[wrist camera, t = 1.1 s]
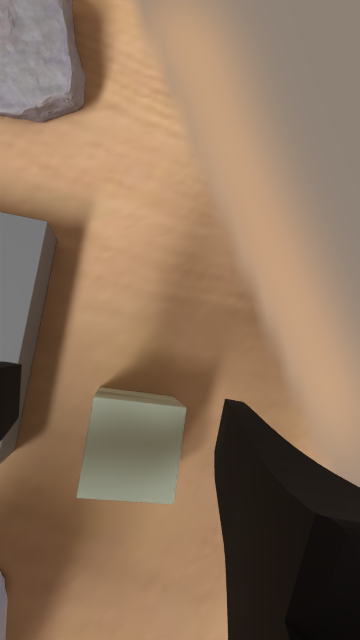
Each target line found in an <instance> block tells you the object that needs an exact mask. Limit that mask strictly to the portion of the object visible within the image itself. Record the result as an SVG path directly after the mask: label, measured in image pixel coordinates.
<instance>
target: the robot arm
mask: <svg viewBox="0 0 360 640" xmlns="http://www.w3.org/2000/svg"><path fill="white" fill-rule="evenodd" d="M21 370H22V364H17V363H11V362H5V361H3V362H0V441H1V440H2V439H3V438H4V436H5V435H6V434H7V433H8V431H9V430H10V429H11V427H12V426H13V425H14V423H15V422H16V421H17V419H18V418H19V406H20V388H21ZM214 468H215V484H216V492H217V499H218V506H219V513H220V521H221V528H222V535H223V542H224V552H225V565H226V588H227V616H228V640H360V487H357V486H356V485H354V484H352V483H350V482H349V481H347V480H345V479H343V478H342V477H340V476H338V475H336V474H334V473H333V472H331V471H329V470H328V469H326V468H324V467H323V466H321V465H320V464H318V463H317V462H315V461H314V460H312V459H311V458H309V457H308V456H306V455H305V454H304V453H302V452H301V451H299V450H298V449H297V448H295V447H294V446H293V445H292V444H290V443H289V442H288V441H287V440H285V439H284V438H283V437H282V436H281V435H279V434H278V433H277V432H276V431H275V430H274V429H272V428H271V427H270V426H269V425H268V424H267V423H266V422H265V421H264V420H263V419H262V418H260V417H259V416H258V415H257V414H256V413H255V412H254V411H253V410H252V409H251V408H250V407H249V406H248V405H246V404H245V403H244V402H241V401H235V400H229V399H225V402H224V407H223V411H222V416H221V421H220V426H219V431H218V436H217V441H216V446H215V451H214ZM4 586H5V578H4V577H3V576H2V575H1V571H0V640H6V622H7V603H8V598H7V594H6V590H5V587H4Z"/></svg>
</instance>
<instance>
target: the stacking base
mask: <svg viewBox="0 0 360 640" xmlns="http://www.w3.org/2000/svg"><path fill="white" fill-rule="evenodd" d="M56 242H57V238H56V237H55V235H54V233H53V231H52V229H51V228H50V226H49V224H48V222H47V221H42V220H37V219H32V218H27V217H22V216H17V215H12V214H7V213H2V212H0V362H3V361H5V362H11V363H17V364H22V370H21V388H20V406H19V418H18V419H17V421H16V422H15V423H14V425H13V426H12V427H11V429H10V430H9V431H8V433H7V434H6V435H5V436H4V438H3V439H2V440H1V441H0V463H1V462H3V461H4V460H5V459H6V458H7V457H8V456H9V455H10V454H11V453H12V452H13V451H15V447H16V442H17V437H18V432H19V427H20V422H21V417H22V412H23V407H24V402H25V397H26V392H27V387H28V382H29V377H30V372H31V367H32V362H33V357H34V352H35V347H36V342H37V337H38V332H39V327H40V322H41V317H42V312H43V307H44V302H45V297H46V292H47V287H48V282H49V277H50V272H51V267H52V262H53V257H54V252H55V247H56Z"/></svg>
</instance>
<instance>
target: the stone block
mask: <svg viewBox="0 0 360 640" xmlns="http://www.w3.org/2000/svg"><path fill="white" fill-rule="evenodd" d="M72 5H73V1H72V0H0V116H7V117H11V118H17V119H26V120H31V121H35V122H46V121H48V120H50V119H53V118H57V117H61V116H63V115H66V114H69V113H72V112H74V111H76V110H78V109H80V108H81V107H83V106H84V101H85V97H84V93H85V84H86V81H85V80H86V76H85V74H84V71H83V68H82V66H81V63H80V61H81V59H80V57H79V55H78V51H77V48H76V45H75V33H74V23H73V12H72Z"/></svg>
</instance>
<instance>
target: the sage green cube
mask: <svg viewBox="0 0 360 640" xmlns="http://www.w3.org/2000/svg"><path fill="white" fill-rule="evenodd" d="M186 409H187V408H186V407H185V406H184V405H183V404H181V403H180V402H179V401H178V400H177V399H175V398H174V397H173V396H168V395H160V394H152V393H144V392H136V391H128V390H120V389H111V388H103V387H99V389H98V391H97V392H96V394H95V396H94V398H93V404H92V410H91V416H90V421H89V427H88V433H87V439H86V444H85V450H84V456H83V462H82V468H81V473H80V479H79V485H78V491H77V497H76V498H84V499H99V500H115V501H130V502H146V503H161V504H174V499H175V491H176V484H177V476H178V469H179V461H180V454H181V446H182V439H183V432H184V424H185V417H186Z"/></svg>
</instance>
